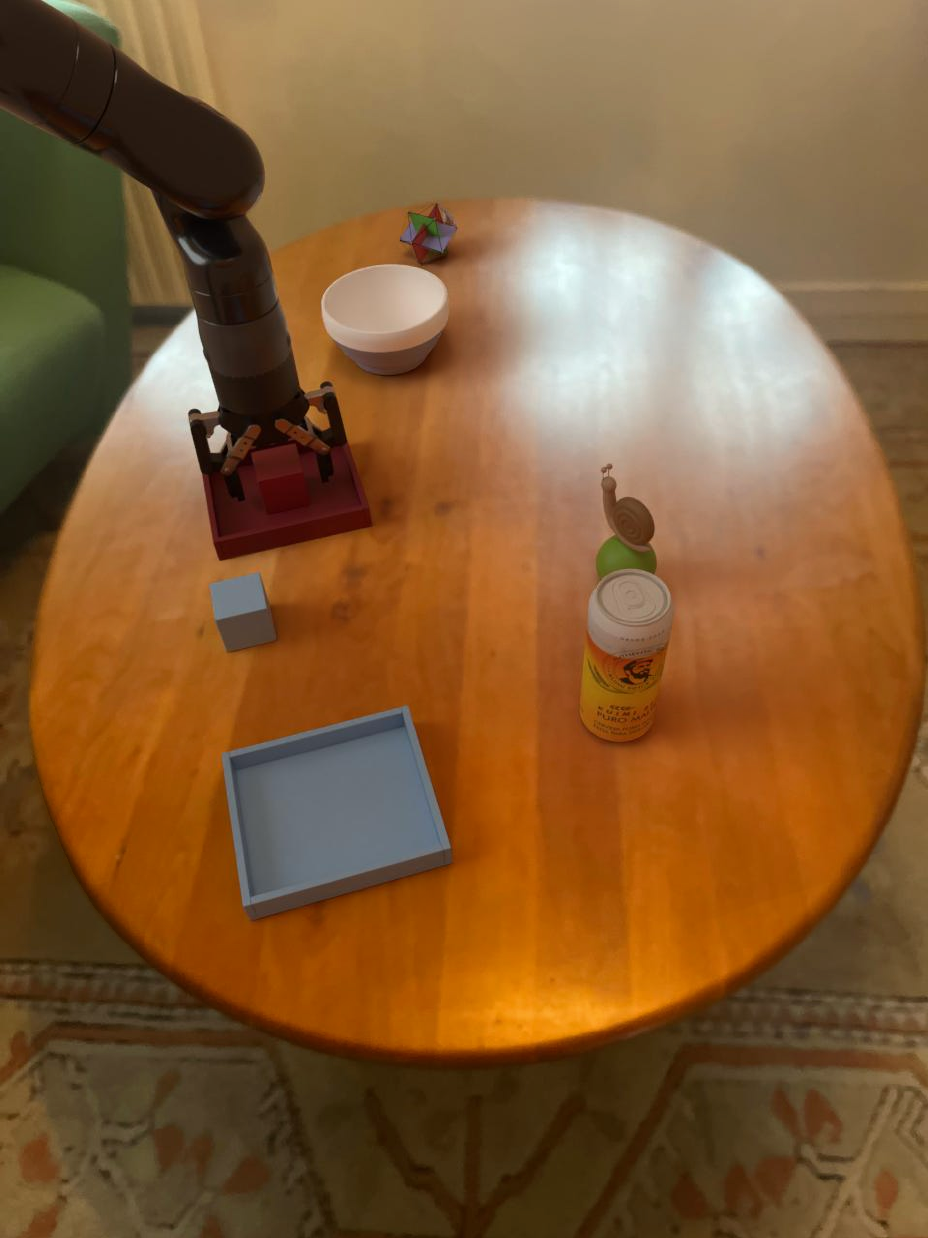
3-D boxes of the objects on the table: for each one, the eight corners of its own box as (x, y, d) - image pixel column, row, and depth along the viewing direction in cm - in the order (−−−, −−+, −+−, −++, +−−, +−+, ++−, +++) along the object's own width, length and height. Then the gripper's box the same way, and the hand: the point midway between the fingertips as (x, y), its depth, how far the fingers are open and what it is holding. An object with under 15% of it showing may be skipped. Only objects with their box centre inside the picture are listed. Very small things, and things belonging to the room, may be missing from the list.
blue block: (227, 652, 85) (214, 620, 81) (221, 616, 88) (209, 583, 84) (277, 640, 85) (267, 607, 82) (269, 604, 88) (259, 571, 85)
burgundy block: (266, 515, 95) (257, 481, 92) (260, 486, 98) (250, 452, 95) (310, 505, 96) (303, 471, 92) (303, 476, 99) (295, 442, 95)
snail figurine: (615, 547, 91) (626, 450, 82) (665, 585, 88) (683, 487, 78) (574, 575, 89) (581, 478, 80) (624, 614, 86) (637, 518, 76)
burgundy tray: (219, 560, 92) (213, 542, 90) (205, 474, 100) (199, 456, 98) (372, 525, 94) (369, 507, 92) (345, 444, 103) (342, 425, 101)
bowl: (440, 396, 107) (436, 337, 102) (316, 388, 109) (305, 330, 103) (461, 323, 116) (458, 265, 111) (346, 317, 118) (337, 260, 113)
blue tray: (250, 921, 69) (242, 907, 67) (228, 769, 77) (221, 753, 75) (453, 863, 71) (451, 847, 69) (410, 722, 79) (407, 704, 77)
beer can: (594, 755, 76) (608, 638, 65) (568, 696, 80) (577, 575, 69) (665, 736, 77) (691, 616, 66) (635, 678, 81) (655, 556, 70)
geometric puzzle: (428, 266, 121) (446, 201, 119) (384, 253, 124) (400, 189, 121) (454, 276, 128) (471, 214, 125) (411, 263, 130) (427, 203, 128)
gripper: (320, 310, 87) (344, 449, 99) (163, 340, 85) (208, 478, 97) (335, 356, 82) (359, 495, 95) (170, 389, 80) (216, 527, 93)
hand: (282, 486), depth 96 cm, fingers open, 8 cm apart
